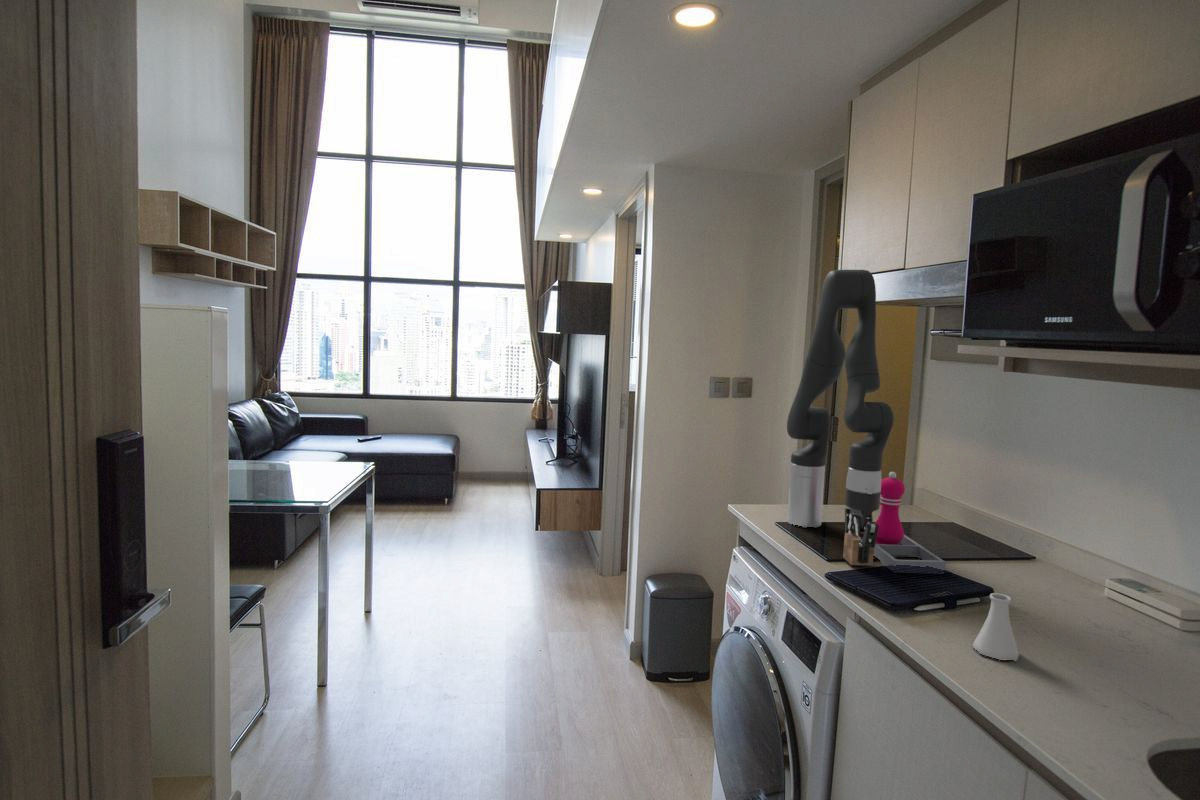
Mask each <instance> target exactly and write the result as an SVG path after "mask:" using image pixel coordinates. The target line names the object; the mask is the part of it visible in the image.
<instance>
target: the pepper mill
mask: <svg viewBox="0 0 1200 800" xmlns="http://www.w3.org/2000/svg"><path fill="white" fill-rule="evenodd" d="M905 489H906V488H905V484H904V482H902V480H901V479H899V478H897V473H896V472H894V471H890V472H889V473H888V477H886V478H883V479H882V481H881V494H880V504H881V505H880V507H881V508H880V513H879V516H878V518H877V519H876V521H875V523H874V524H878V526H879V528H878V533H877V538H876V543H875V544H887V545H900V544H899V542H900V541H901V540H902V539H903V537H904V535H905V533H904V532H905V531H904V527H903V525H902V522H901V519H900V517H899V516H900V515H899V514H900V513H899V511H900V509H899V508H900V506H901V505H902V496H903V495H904V494H905V492H906V491H905Z"/></svg>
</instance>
